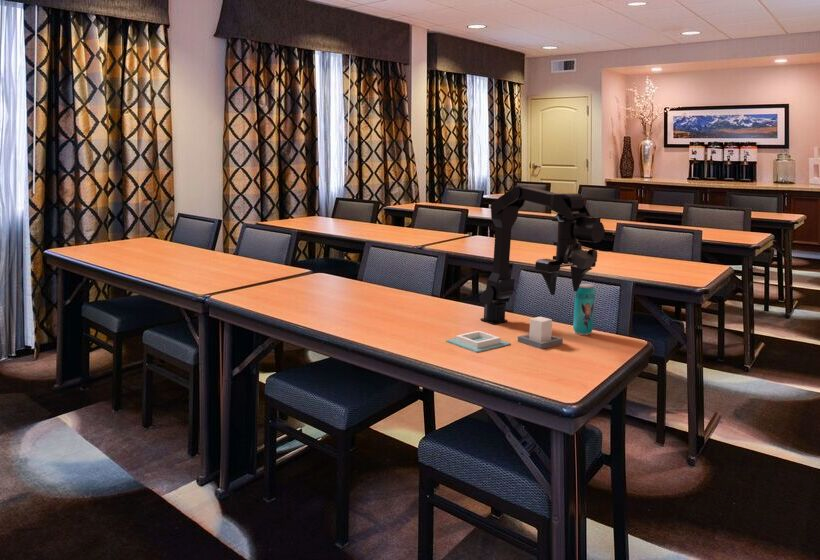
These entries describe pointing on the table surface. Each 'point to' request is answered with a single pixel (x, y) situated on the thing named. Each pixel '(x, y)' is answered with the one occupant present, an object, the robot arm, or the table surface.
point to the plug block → (540, 329)
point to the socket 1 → (478, 341)
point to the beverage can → (584, 309)
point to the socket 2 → (540, 345)
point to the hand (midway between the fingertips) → (564, 293)
